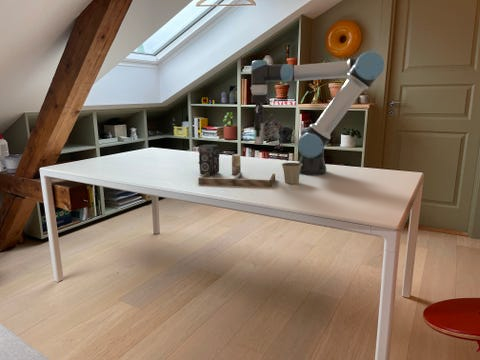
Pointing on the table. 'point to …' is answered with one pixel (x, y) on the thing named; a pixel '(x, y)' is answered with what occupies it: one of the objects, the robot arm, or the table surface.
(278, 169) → the table surface
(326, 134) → the robot arm
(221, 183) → the rack
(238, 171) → the beech post
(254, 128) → the sage post
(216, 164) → the camera
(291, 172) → the flower pot
